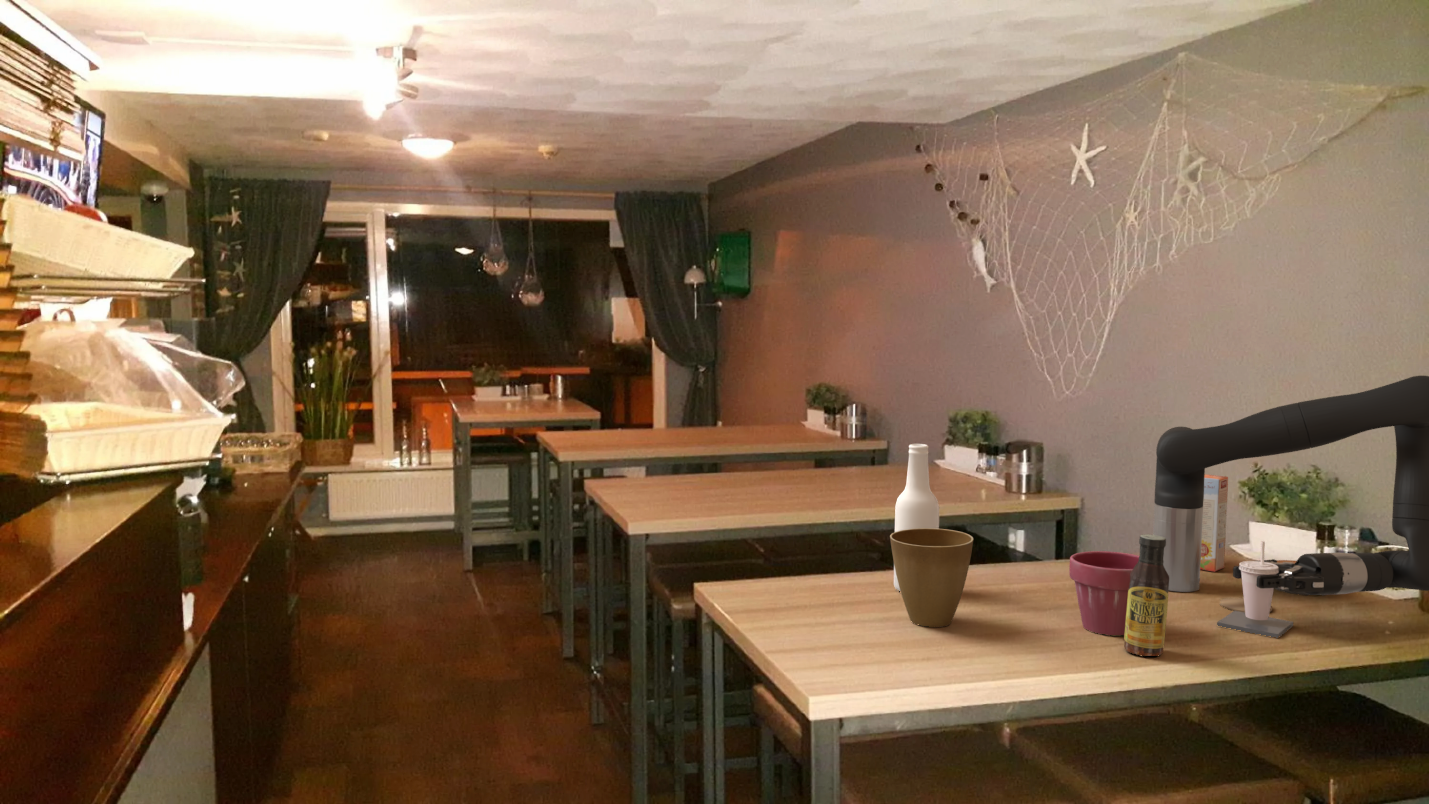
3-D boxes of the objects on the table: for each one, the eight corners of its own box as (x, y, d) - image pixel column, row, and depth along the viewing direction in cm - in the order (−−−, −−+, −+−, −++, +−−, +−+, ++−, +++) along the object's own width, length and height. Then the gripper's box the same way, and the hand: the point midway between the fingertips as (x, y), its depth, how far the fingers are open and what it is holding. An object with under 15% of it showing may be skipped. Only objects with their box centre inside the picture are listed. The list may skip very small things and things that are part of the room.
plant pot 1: (918, 605, 199) (920, 524, 198) (986, 622, 189) (989, 536, 187) (872, 621, 189) (873, 535, 187) (941, 640, 178) (943, 549, 177)
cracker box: (1225, 568, 229) (1229, 475, 227) (1215, 573, 225) (1219, 478, 223) (1161, 557, 239) (1165, 468, 237) (1151, 561, 235) (1155, 471, 233)
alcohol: (904, 597, 204) (907, 448, 202) (886, 585, 213) (889, 442, 210) (944, 594, 207) (948, 447, 204) (925, 583, 215) (929, 441, 212)
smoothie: (1281, 623, 183) (1284, 546, 182) (1243, 621, 184) (1245, 544, 183) (1270, 612, 189) (1273, 538, 188) (1232, 611, 190) (1235, 536, 189)
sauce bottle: (1123, 656, 170) (1128, 538, 169) (1123, 644, 176) (1128, 530, 174) (1166, 661, 168) (1171, 542, 166) (1165, 649, 174) (1170, 534, 172)
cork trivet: (1211, 605, 200) (1211, 602, 200) (1233, 597, 205) (1233, 594, 205) (1258, 616, 193) (1258, 613, 193) (1280, 608, 198) (1280, 605, 198)
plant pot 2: (1050, 622, 189) (1052, 553, 188) (1108, 613, 194) (1111, 547, 193) (1108, 645, 176) (1111, 572, 175) (1169, 635, 181) (1172, 564, 180)
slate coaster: (1217, 626, 187) (1217, 622, 187) (1234, 614, 194) (1234, 610, 194) (1277, 638, 180) (1277, 634, 180) (1293, 625, 187) (1293, 621, 187)
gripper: (1304, 544, 194) (1222, 547, 192) (1361, 562, 180) (1272, 566, 178) (1302, 583, 195) (1220, 586, 193) (1359, 604, 181) (1271, 608, 179)
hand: (1246, 577), depth 186 cm, fingers closed on smoothie, 6 cm apart
